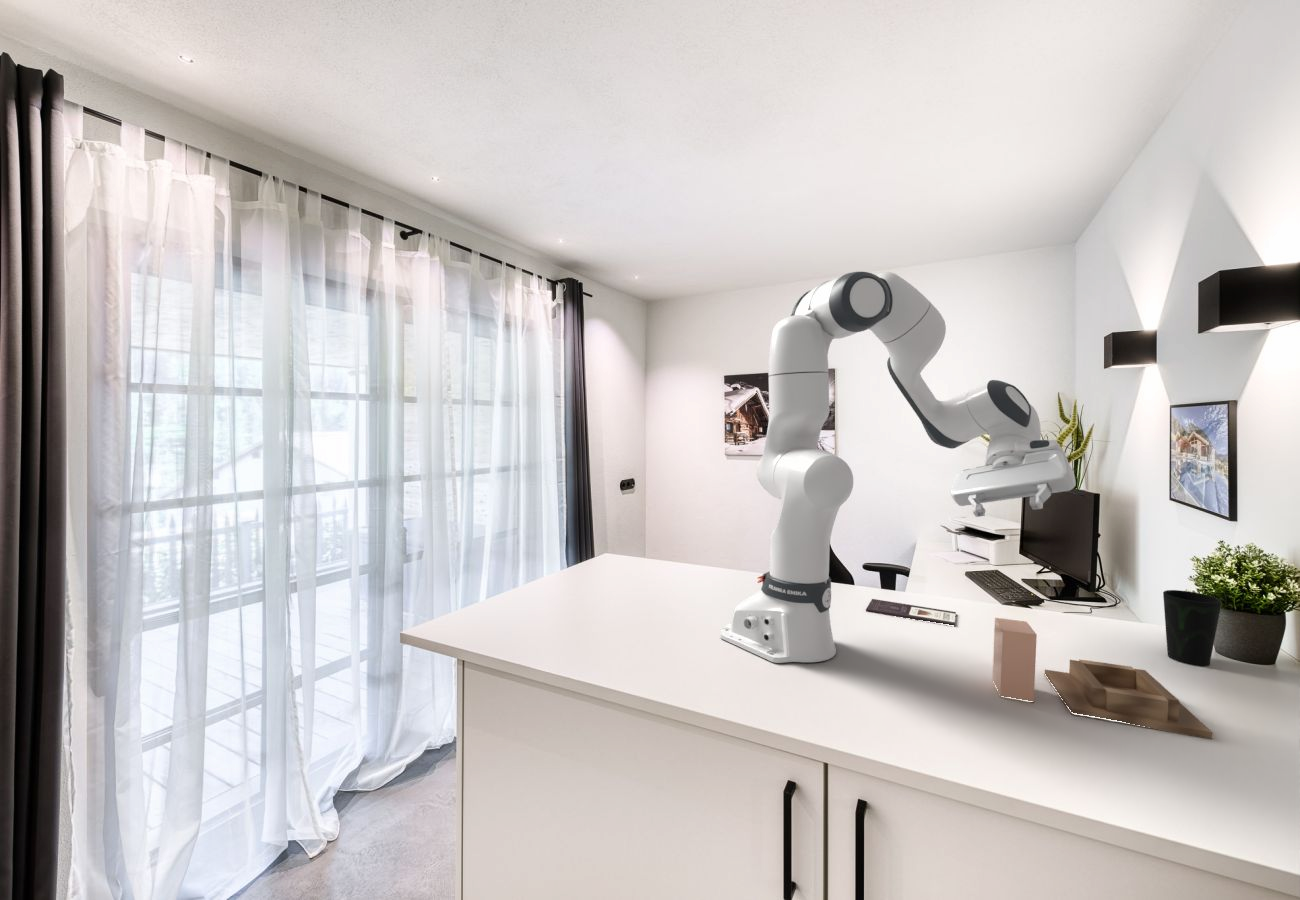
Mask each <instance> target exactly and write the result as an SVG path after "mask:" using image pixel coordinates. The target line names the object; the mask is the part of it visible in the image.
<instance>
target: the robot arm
mask: <svg viewBox="0 0 1300 900" xmlns="http://www.w3.org/2000/svg"><path fill="white" fill-rule="evenodd" d="M793 306H794V307H793V309H792V312H791V315H790V316H787V317H785V318H782V319H781V320H780V321H778V322H776V324H775V325H774V327H773V328H772V332H771V337H770V343H769V350H768V351H769V353H768V364H767V365H768V369H767V371H768V373H767V375H768V423H767V424H768V425H767V431H766V436H765V441H764V447H763V453H762V456H761V458H760V459H759V461H758V464H757V467H756V477H757V480H758V482H759V483H760V485H761V487H762V488H763V489H764V490H765V491H766V492H767V493H768V494H769V495H771V496H772V497H773V498H775V499H778V500H781V508H780V513H779V515H778V520H777V523H776V526H775V527H774V528H773V530H772V531H771V533H770V536H769V538H770V540H769V545H770V546H769V571H767V572H765V573H763V574H762V575H761V576H757V583H758V584H760V583H762V585H761V588H760V589H759V590H757V591H755V593H753V594H751V595H750V596H749V597H747V598H745V599H743V600H742V601H740V603H738V604H737V605H736V607H735V608H734V611H733V615H732V620H731V622H730V623H728V624H726V625H725V626H723V628H722V629H721V631H720V633H719V634H720V636H719V637H720V638H719V639H721V640H724V641H725V642H727V643H730V644H731V645H735V646H737V647H739V648H742V650H745V651H747V652H749V653H752V654H754V655H755V656H759V657H761V658H763V659H765V660H767V661H769V662H772V663H775V664H784V663H794V662H795V663H817V662H818V663H819V662H824V661H828V660H830V659H832V658H834V656H835V655H836V654H837V648H836V644H835V640H834V637H833V632H832V631H833V630H832V625H831V618H830V617H831V616H830V615H831V614H830V609H831V602H832V578H831V577H830V576H829V574H830V551H831V550H830V546H831V545H830V544H831V537H832V532H833V528H834V525H835V522H836V519H837V516H838V512H839V510H840V508H841V506H842V505H843V504H844V503H846V501H847V500H849V498H850V496H851V494H852V492H853V489H854V488H853V487H854V476H853V471H852V469H851V467H850V466H849V464H848V463H847V462H846V461H845V460H844V459H842V458H841V457H839V456H837V455H835V454H834V453H832V452H830V451H828V450H826V449H825V450H824V449H818V446H819V439H820V435H821V431H822V428H823V426H824V424H825V423H826V422H827V420H828V418H829V414H830V381H829V380H830V377H829V376H830V375H829V372H830V371H829V356H828V354H829V349H830V345H831V343H832V341H833V340H835V339H839V340H840V339H843V338H847V337H850V336H853V335H855V334H857V333H860V332H864V331H866V330H870V331H871V332H872V333H873V334H874V335H875V337H876V338H878V340H880V342H881V343H882V344H883V345H884V346H885V348H886V349H887V352H888V354H889V357H888V359H887V361H886V362H887V365H886V366H887V369H888V373H889V375H890V377H891V379H892V380H893V382H894V384H895V385H896V386H897V388H898V389H899V391H900V393H901V394H902V396H903V397H904V398H905V399H906V402H907V403H908V404H909V406H910V407H911V408H912V410H913V411H914V413H915V414H916V416H917V417H918V418H919V420H920V422H921V424H922V426H923V429H924V430H925V433H926V435H927V436H928V438H929V439H930V440H931V441H932V443H934V444H936V445H938V446H941V447H943V448H946V449H951V450H952V449H956V448H958V447H960V446H962V445H964V444H966V443H968V442H970V441H972V440H974V439H977V438H979V437H981V436H984V435H985V436H986V435H989V443H988V444H987V445H988V446H987V450H986V454H985V455H986V456H985V461H984V462H985V463H984V465H981V466H976V467H972V468H966V469H963V470H962V471H960V472H958V473H957V474H956V475H955V477H954V480H953V483H952V485H951V489H950V496H951V498H952V500H953V501H954V502H955V504H957V505H958V506H960V507H965V506H970V505H971V506H972V512H973V513H972V514H973V515H974V516H975V517H976V518H979V517H985V514H986V509H985V508H984V506H983V504H987V503H993V502H994V503H995V502H999V501H1005V500H1006V501H1007V500H1013V499H1021V498H1026V497H1029V502H1028V503H1029V506H1030V507H1031V509H1032V510H1041V509H1044V503H1045V502H1046V501H1047V500H1048V499H1049V498H1050V497H1051V496H1052V494H1055V493H1063V492H1070V491H1071V490H1073V489H1074V488H1075V487H1076V486H1077V485H1076V484H1077V482H1076V476H1075V473H1074V470H1073V469H1072V467H1071V465H1070V462H1069V460H1068V457H1067V455H1066V453H1065V451H1064V450H1063V448H1062V446H1061V445H1060V443H1059V442H1058V441H1057V440H1056V439H1041V435H1042V434H1041V432H1042V431H1041V422H1040V418H1039V414H1038V412H1037V410H1036V408H1035V407H1034V406H1033V405H1032V404H1030V402H1029V400H1028V398H1026V396H1025V395H1024V393H1022V391H1020V389H1019V388H1017V387H1016V386H1015V385H1013V384H1011V383H1008V382H1006V381H1002V380H998V379H991V380H988V381H987V382H984V383H982V384H980V385H977V386H974V387H973V388H971V389H969V390H968V391H965V392H963V393H960V394H959V395H957V396H954V397H952V398H951V399H948V400H938V399H937V398H936V397H935V395H934V393H933V392H932V391H931V388H930V387H929V386H928V384H927V383H926V382H925V380H924V379H923V377H922V375H921V373H922V372H923V370H924V369H925V368H926V366H928V364H929V363H930V362H931V361H932V360H933V358H934V357H935V356H936V355H937V354H938V352H939V350H940V349H941V346H942V345H943V342H944V340H945V337H946V330H947V329H946V321H945V319H944V317H943V315H942V314H941V312H940V311H939V310H938V309H937V307H935V306H934V304H933V303H932V302H931V301H930V300H929V299H928V298H927V297H926V296H925V295H924V294H923V293H921V292H920V291H919V290H918V289H917V288H916V287H915V286H913V285H912V284H911V283H909V282H908V281H907V280H905V279H904V278H902V277H901V276H900V275H897V274H896V273H894V272H889V271H886V272H885V271H883V272H880V273H877V274H874V273H872V272H867V271H852V272H848V273H846V274H845V273H844V274H843V275H842V276H839V277H836V278H834V279H830V280H827V281H824V282H823V283H821V284H819V285H817V286H816V287H813V289H811V290H808V291H807V292H805V293H803V295H801V296H800V297H799V299H798V300H797V302H796V303H795V305H793Z"/></svg>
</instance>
